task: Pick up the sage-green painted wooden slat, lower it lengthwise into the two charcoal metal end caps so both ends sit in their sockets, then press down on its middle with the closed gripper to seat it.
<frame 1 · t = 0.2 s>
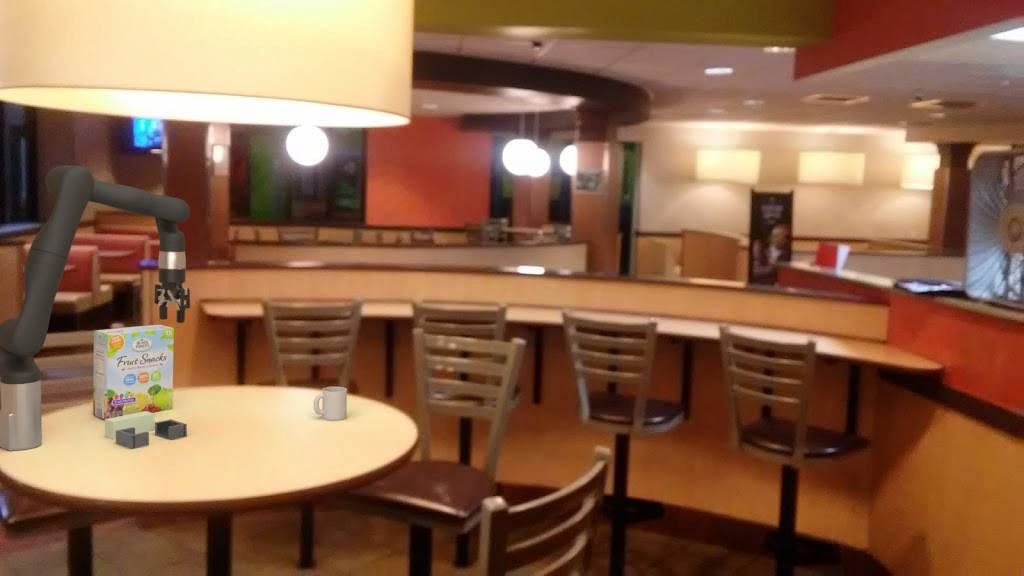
hand: (171, 321, 270), 29 cm above the table, fingers open, 8 cm apart
slat: (130, 434, 253), on the table
snack box: (134, 413, 274), on the table
end cap B: (170, 435, 252), on the table
cup: (329, 418, 277), on the table
end cap A: (132, 444, 243), on the table
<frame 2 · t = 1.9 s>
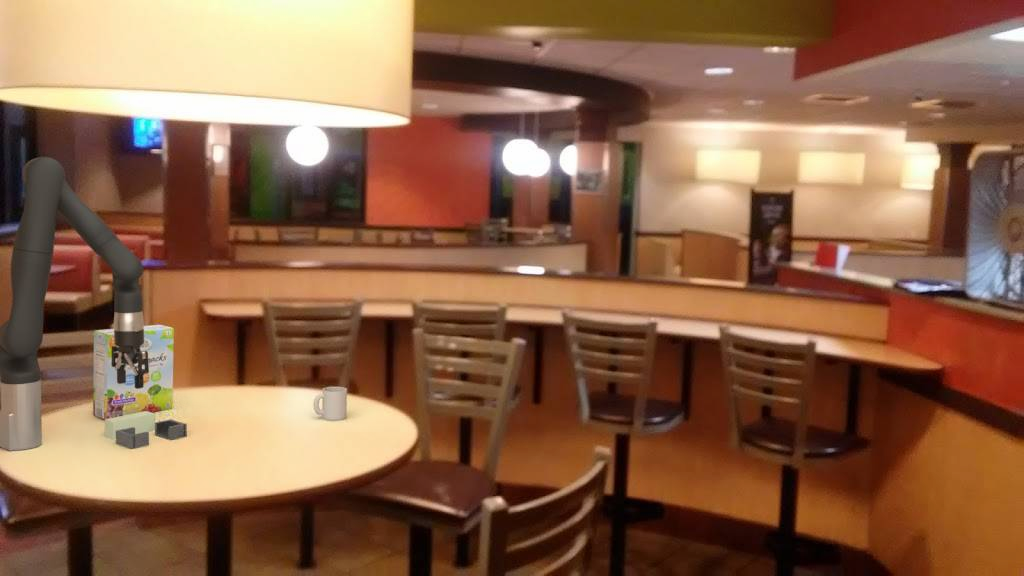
hand: (130, 385, 251), 13 cm above the table, fingers open, 8 cm apart
nothing on the table moved.
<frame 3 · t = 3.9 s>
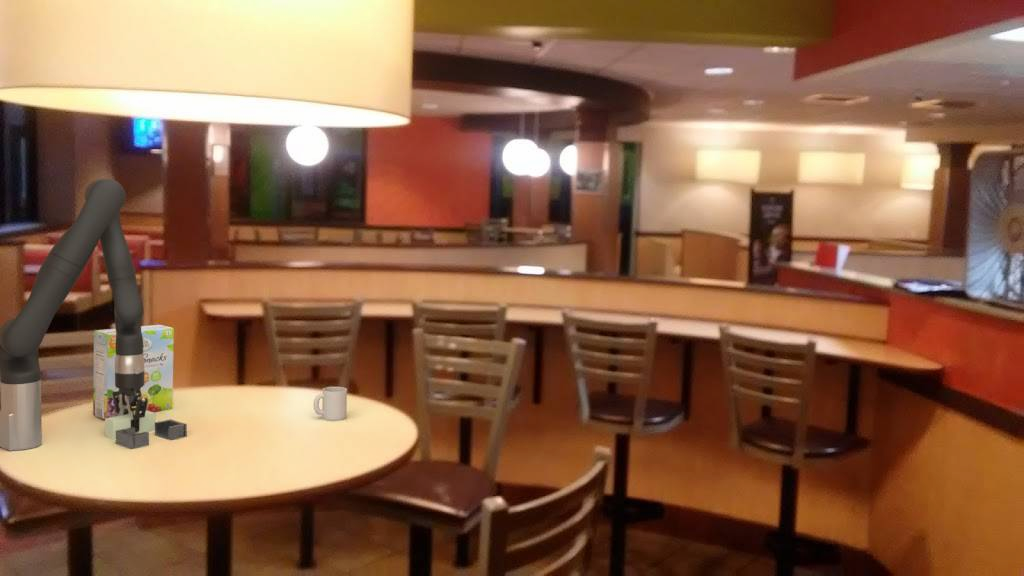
hand: (130, 430, 253), 1 cm above the table, fingers closed on slat, 4 cm apart
slat: (130, 433, 253), on the table, touching gripper
everything else where it was.
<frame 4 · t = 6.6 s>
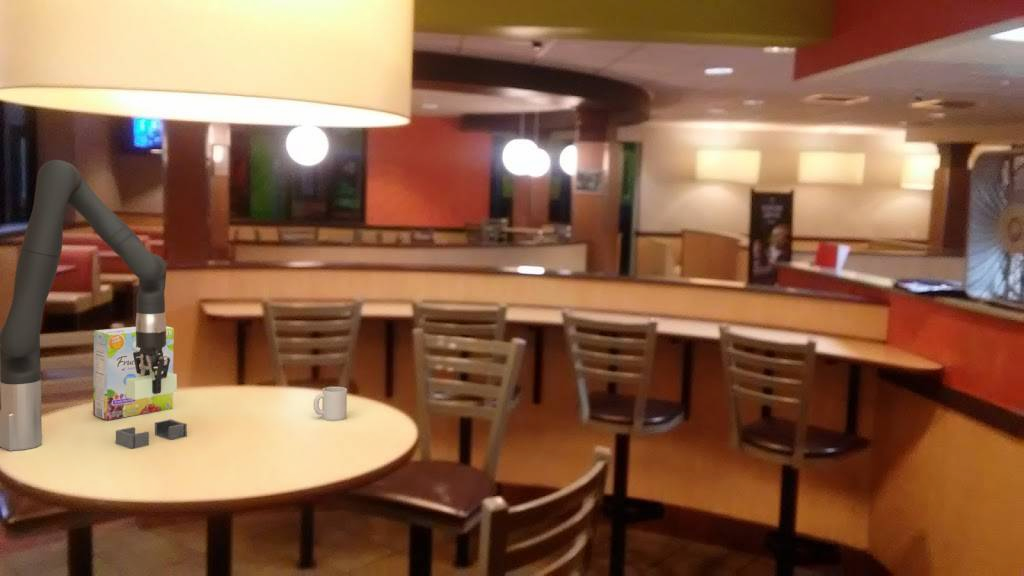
hand: (151, 391, 246), 13 cm above the table, fingers closed on slat, 4 cm apart
slat: (151, 394, 246), point 13 cm above the table, touching gripper
everything else where it was.
when the fingers open (2 cm above the table, at t = 9.3 s): slat stays where it is, resting on end cap A, end cap B.
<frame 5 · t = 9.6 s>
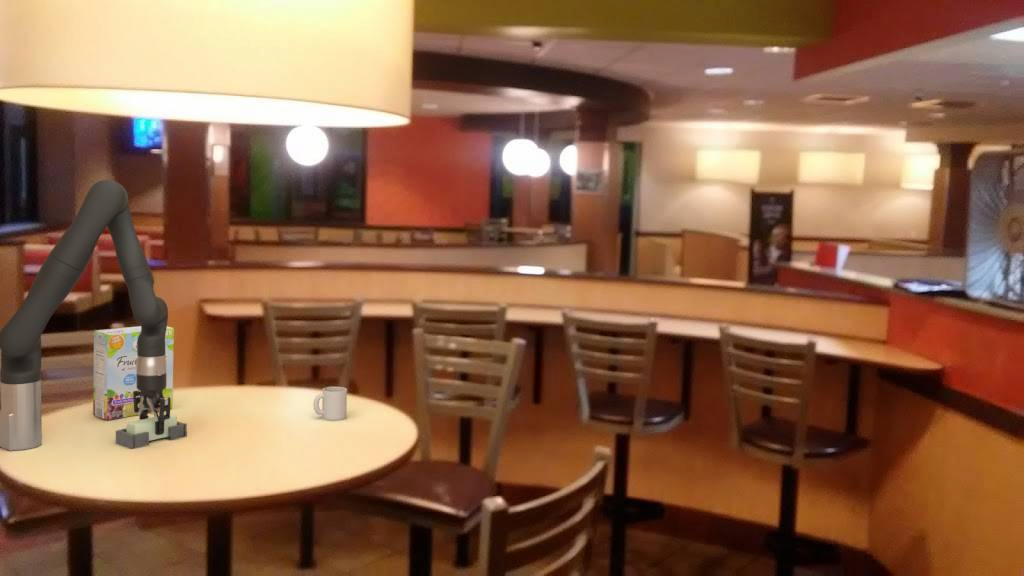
hand: (151, 431, 247), 2 cm above the table, fingers open, 6 cm apart
slat: (152, 437, 247), point 1 cm above the table, touching end cap A, end cap B
everything else where it was.
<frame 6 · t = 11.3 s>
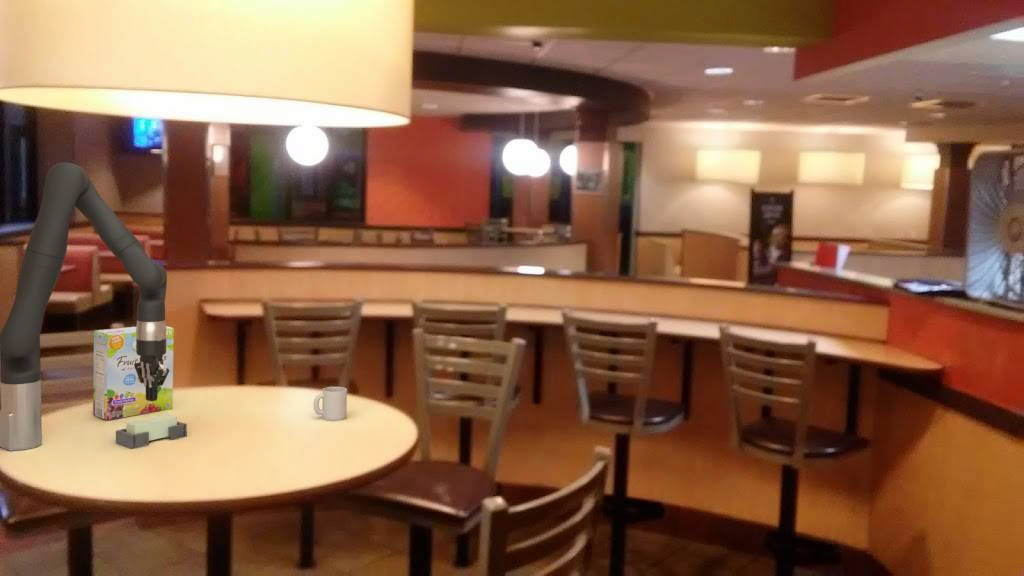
hand: (151, 400, 246), 11 cm above the table, fingers closed
nothing on the table moved.
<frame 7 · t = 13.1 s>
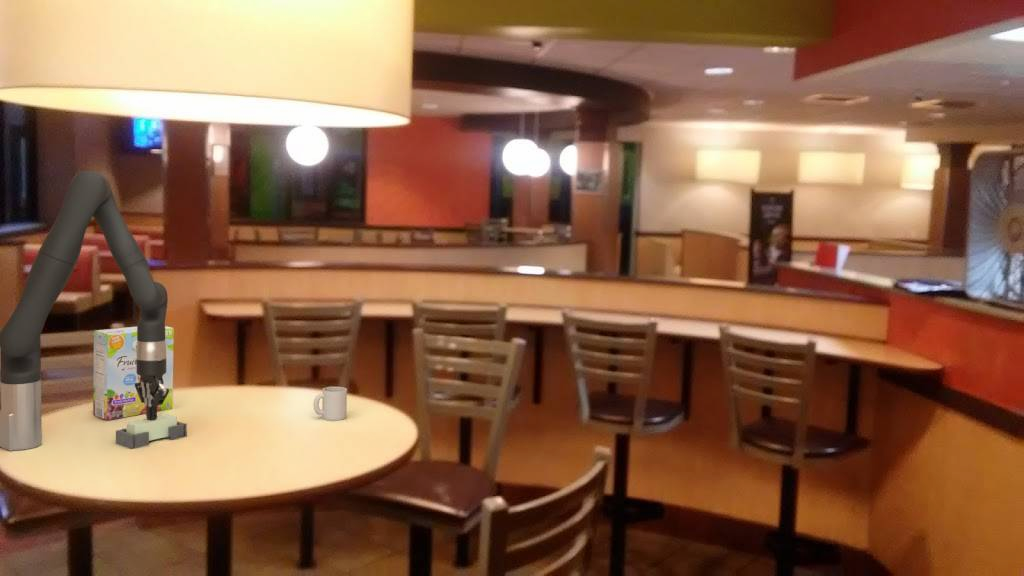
hand: (151, 419, 247), 6 cm above the table, fingers closed
nothing on the table moved.
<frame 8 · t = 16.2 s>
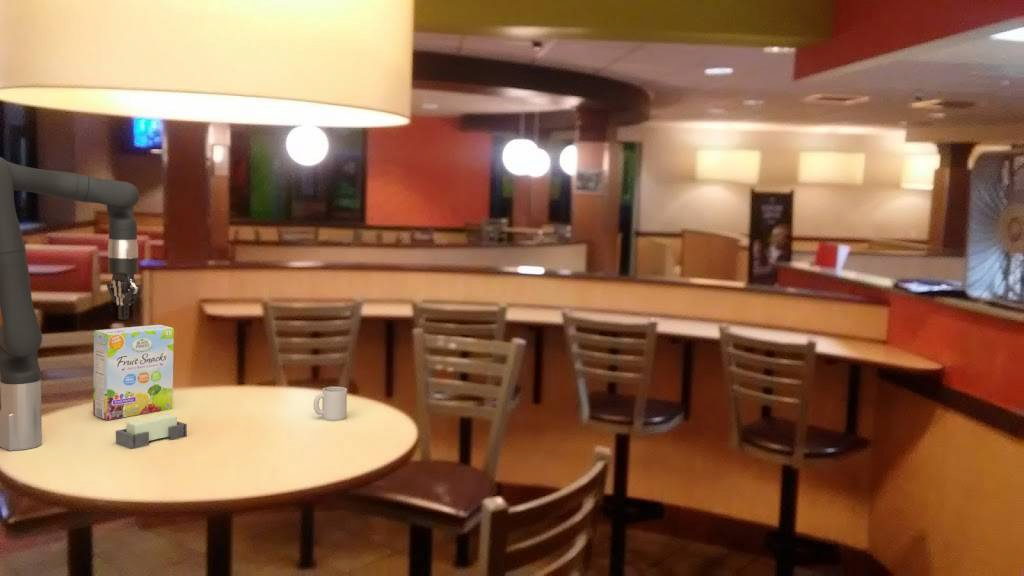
hand: (123, 318, 249), 32 cm above the table, fingers closed
nothing on the table moved.
at the end: slat 0.1 cm from the target spot, point 0.6 cm above the table; slat tilted 0°; the gripper is holding nothing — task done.
